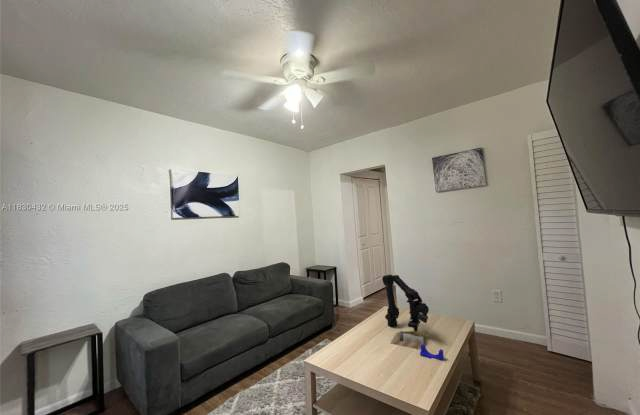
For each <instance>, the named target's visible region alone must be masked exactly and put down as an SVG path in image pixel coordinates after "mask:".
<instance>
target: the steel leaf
mask: <svg viewBox="0 0 640 415" xmlns="http://www.w3.org/2000/svg"><path fill="white" fill-rule="evenodd" d="M402 331H403V330H399V331H398V332H399V333H400V341H405V342H410V343H415V344H420V345H422V344H424V341H423V337H424V336H423V335H422V336H417V335H411V334H405V333H403V332H402Z"/></svg>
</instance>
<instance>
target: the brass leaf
mask: <svg viewBox="0 0 640 415" xmlns="http://www.w3.org/2000/svg"><path fill="white" fill-rule="evenodd" d="M401 331H402V332H403V333H405V334H411V335H417V336H422V337H423V332H422V330H418V331H414V330H401Z"/></svg>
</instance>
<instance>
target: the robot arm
mask: <svg viewBox="0 0 640 415" xmlns="http://www.w3.org/2000/svg"><path fill="white" fill-rule="evenodd" d="M381 281H382V284H383V285H384V286H385V289H386V290H385V291H386V296H387V303H388V307H387V313H386V314H385V316H384V318H385V320H387V327H389V328H398V325H399V324H398V320H397V319H398V318H399V316H400V308H398V307H397V305H396V301H395V294H394V284H396V285H397V286H398V287H399V288H400V289H401V291H403V293H404V295H405V297H406V298H407V301H406V303H408V305H409V312H408V313H409V314H410V316H409V321H408V322H407V327H408V328H412V329H413V331H418V329H419V326H420V324H421V322H422V323H424V324H426V323H427V322H428V319H429V315H428V314H429V311H430V309H429V307H428V305H427V303H425V302H423V299H422V298H421V296H420V295H419V293H418V291H417V290H415V289H414V288H411V287H409V285H408V284H407V283H406V282H404V280H402V278H400V276H399V275H398V274H396V275H395V274H394V275H392V274H386V275H383V276H382V280H381Z"/></svg>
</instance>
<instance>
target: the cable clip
mask: <svg viewBox="0 0 640 415" xmlns="http://www.w3.org/2000/svg"><path fill="white" fill-rule="evenodd" d="M419 356H420V357H422V356H423V357H424V358H426V359H429V360H430V359H434V360H441V361H444V358H445V357H444V349H442V348H440V349H439V350H438V353H437V354H433V353H431V352H429V350H428V349H427V346H426V347H425V345H424V344H422V345H421V350H420V353H419Z"/></svg>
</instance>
